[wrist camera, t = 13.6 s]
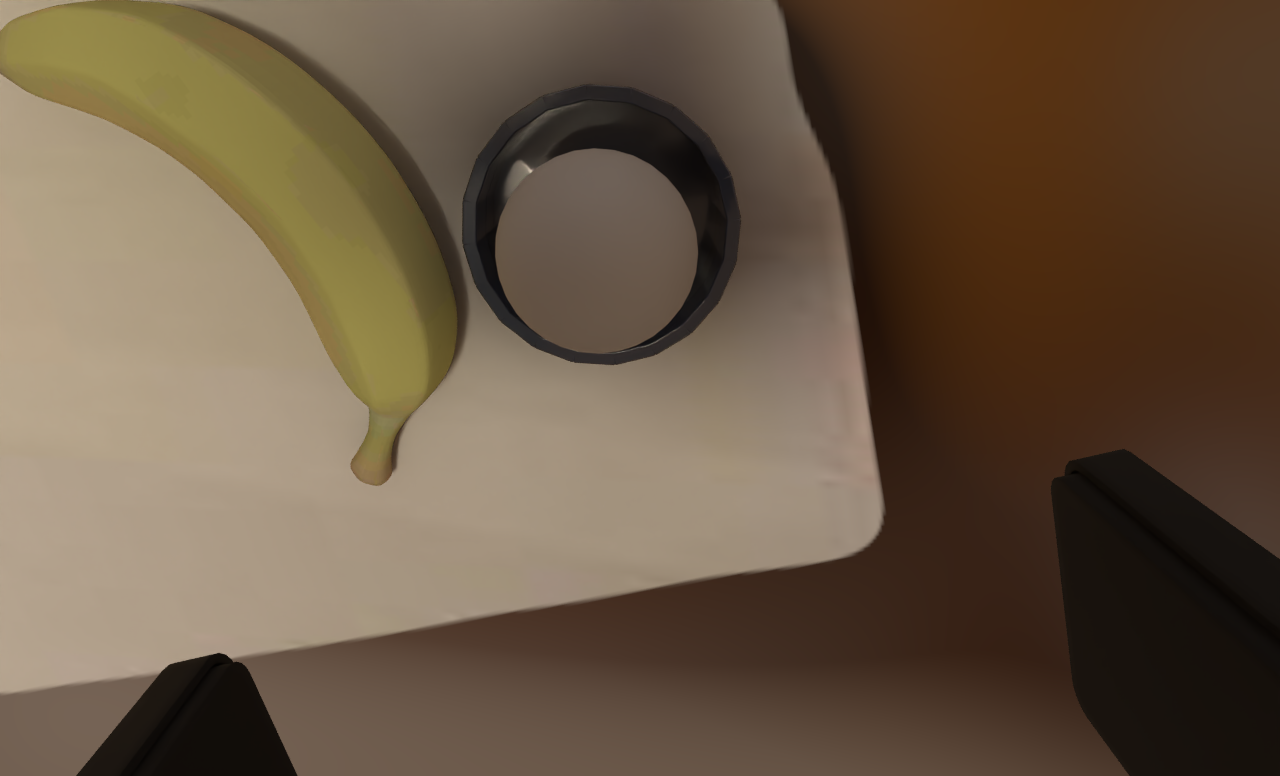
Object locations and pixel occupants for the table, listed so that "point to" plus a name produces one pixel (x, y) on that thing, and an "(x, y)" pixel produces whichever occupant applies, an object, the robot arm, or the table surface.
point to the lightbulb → (596, 250)
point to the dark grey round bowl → (626, 128)
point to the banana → (268, 181)
